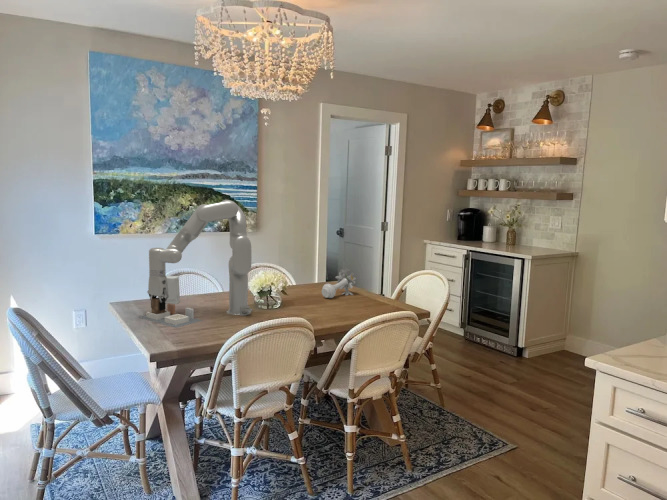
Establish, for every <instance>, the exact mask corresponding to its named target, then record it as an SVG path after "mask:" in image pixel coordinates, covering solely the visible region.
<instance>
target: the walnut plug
mask: <svg viewBox="0 0 667 500" xmlns="http://www.w3.org/2000/svg"><path fill="white" fill-rule="evenodd" d="M162 299H163V298H162ZM159 302H160V299H159V297H158V296H157V297H156V298H153V299H151V300H150V308H151V311H152V313H153V314H161V313H165V311H166V309H165V310H159Z"/></svg>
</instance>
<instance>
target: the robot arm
mask: <svg viewBox="0 0 667 500" xmlns="http://www.w3.org/2000/svg"><path fill="white" fill-rule="evenodd" d="M245 215H246V214H244V212H243V210H242V209H241V207H240V206H239V205H238V204H237V203H236V202H235V201H233V200H230V199H223V200H222V201H220V202H217V203H210V204H207V203H206V204H205V203H202V204H200V205H199V206H197V208H196V209H195V210H194V211H193V213H192V214H191V216H190V217H189V218H188V220H187V221H186V222H185V224H183V226H182V228H181V229H179V232H178V233H177V234H176V236H175V237H174V238H173V240H172V241H171V242H169V244H168V246H166V249H165V248H163V247H152V248H149V250H148V262H149V263H148V264H149V265H148V267H149V269H148V271H149V272H148V274H149V277H148V290H147V291H146V293H147V295H148V296H149V301H151V299H153V298H158V297H159V299H160V302H159V310H165V311H166V304H165V302H166V300H167V298H168V297H169V295H168V282H167V277H166V276H167V275H166V274H167V273H166V263H167V264H176V263H177V264H178V263H179V262H180V261H181V260H182V256H183V252H184V251H185V249H186V248H187V247H188V246H189V244H190V243H192V242H193V241H195V240H196V239H197V238H198V237H199V236H200V234H201V232H203V230H204V229H205V228H206V226H208V224H209V223H211V222H212V223H213V222H216V221H217V222H218V221H222V220H228V225H229V227H228V228H229V247H230V248H231V250H232V254H231V255H232V256H231V257H230V258H229V260H228V276H229V277H228V278H229V280H228V281H229V283H228V284H229V287H228V288H229V297H228V300H229V302H228V303H229V305H228V306H229V307H228V308H229V309H228V310H226V314H228V315H234V316H241V317H244V316H245V317H246V316H248V315H250V314H251V313H252V311H253V309H252V308H250V305H248V304H249V303H248V302H249V300H248V299H249V297H248V296H249V295H248V294H249V293H248V292H249V287H248V286H249V275H248V273H249V272H250V271H251V270H252V243H251V240H250V238H249V237H248V234H247V219H246V216H245ZM162 295H163V296H162ZM162 297H163V299H162Z"/></svg>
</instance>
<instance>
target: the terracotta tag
mask: <svg viewBox="0 0 667 500" xmlns="http://www.w3.org/2000/svg"><path fill="white" fill-rule="evenodd" d="M166 305H167V306H166V307H167V309H166V311H169V312H170V314H172V315H174V314H175V313H176V304H171V303H168V304H166Z"/></svg>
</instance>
